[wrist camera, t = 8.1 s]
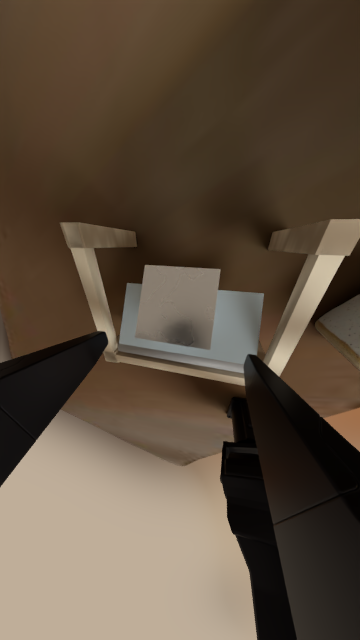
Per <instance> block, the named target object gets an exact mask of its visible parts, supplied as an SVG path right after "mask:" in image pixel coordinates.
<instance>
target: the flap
mask: <svg viewBox="0 0 360 640" xmlns="http://www.w3.org/2000/svg"><path fill="white" fill-rule="evenodd" d="M141 290H142V284H134V283H127V288H126V295H125V303H124V310H123V317H122V325H121V332H120V339H119V344H118V350H119V351H121V352H126V353H132V354H138V355H143V356H149V357H154V358H160V359H166V360H171V361H177V362H182V363H188V364H194V365H199V366H205V367H210V368H216V369H222V370H227V371H233V372H238V373H244V369H243V367H244V362H245V359H246V356H247V354H254V355H257V350H258V341H259V332H260V324H261V315H262V306H263V297H264V294H263V293H250V292H237V291H224V290H218V293H217V301H216V309H215V317H214V325H213V333H212V340H211V348H210V350H206V349H200V348H194V347H188V346H182V345H175V344H169V343H163V342H157V341H151V340H145V339H139V338H135V333H136V326H137V318H138V311H139V304H140V297H141Z"/></svg>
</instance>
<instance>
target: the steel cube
mask: <svg viewBox="0 0 360 640" xmlns="http://www.w3.org/2000/svg"><path fill="white" fill-rule="evenodd" d="M220 270H221V269H208V268H191V267H173V266H156V265H145V269H144V276H143V283H142V290H141V297H140V304H139V311H138V318H137V326H136V333H135V338H139V339H145V340H151V341H157V342H163V343H169V344H175V345H182V346H188V347H194V348H200V349H206V350H210V348H211V340H212V333H213V325H214V317H215V309H216V301H217V293H218V285H219V278H220Z"/></svg>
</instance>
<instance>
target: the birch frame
mask: <svg viewBox="0 0 360 640" xmlns="http://www.w3.org/2000/svg"><path fill="white" fill-rule="evenodd" d="M60 224H61V227H62V230H63V233H64V236H65V239H66V242H67V245H68V248H71V251H72V254H73V257H74V260H75V263H76V266H77V269H78V273H79V276H80V279H81V282H82V285H83V288H84V291H85V294H86V297H87V300H88V303H89V306H90V309H91V312H92V315H93V318H94V321H95V324H96V328H97V331H104V332H106V335H107V338H108V345H107V347H106V348H105V350H104V352H103V353H104V356H105V359H106V361H110V362H115V363H118V362H124V363H129V364H134V365H139V366H145V367H150V368H155V369H160V370H165V371H170V372H176V373H181V374H186V375H191V376H196V377H201V378H206V379H212V380H217V381H222V382H227V383H232V384H237V385H243V386H245V380H244V373H238V372H233V371H227V370H222V369H216V368H210V367H205V366H199V365H194V364H188V363H182V362H177V361H171V360H166V359H160V358H154V357H149V356H143V355H138V354H132V353H126V352H121V351H119V350H118V344H119V339H120V335H118V336H117V337H116V334H115V330H114V326H113V322H112V318H111V314H110V310H109V307H108V303H107V299H106V295H105V291H104V287H103V283H102V279H101V275H100V271H99V267H98V263H97V260H96V256H95V252H94V248H114V247H137V242H136V234H135V232H134V231H128V230H122V229H115V228H109V227H103V226H97V225H91V224H85V223H79V222H71V223H60ZM359 238H360V219H334V220H326V221H322V222H317V223H313V224H308V225H303V226H299V227H294V228H290V229H285V230H280V231H276V232H273V233H272V236H271V240H270V243H269V247H268V250H272V251H282V252H292V253H302V254H308V257H307V259H306V261H305V264H304V266H303V268H302V271H301V273H300V275H299V278H298V280H297V282H296V285H295V287H294V289H293V292H292V294H291V297H290V299H289V301H288V304H287V306H286V308H285V311H284V313H283V315H282V318H281V320H280V322H279V325H278V327H277V329H276V332H275V334H274V337H273V339H272V341H271V344H270V346H269V348H268V351H267V353H266V354H265V352H264V350H263V348H262V346H261V344H260V341H258V350H257V356H258V357H259V358H260V359H261V360H262V361H263V362H264V363H265V364H266V365H267V366H268V367H269V368H270V369H271V370H272V371H274V372H275V373H276V374H277V375H278V376H280V374H281V372H282V371H283V369H284V367H285V365H286V363H287V361H288V360H289V358H290V356H291V354H292V352H293V350H294V349H295V347H296V345H297V343H298V341H299V339H300V337H301V336H302V334H303V332H304V330H305V328H306V326H307V325H308V323H309V321H310V319H311V317H312V315H313V314H314V312H315V310H316V308H317V306H318V304H319V303H320V301H321V299H322V297H323V295H324V293H325V292H326V290H327V288H328V286H329V284H330V282H331V280H332V279H333V277H334V275H335V273H336V271H337V269H338V268H339V266H340V264H341V262H342V260H343V258H344V257H345V256H350V254H351V252H352V250H353V249H354V247H355V245H356V243H357V241H358V240H359Z"/></svg>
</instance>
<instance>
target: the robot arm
mask: <svg viewBox="0 0 360 640" xmlns="http://www.w3.org/2000/svg"><path fill="white" fill-rule="evenodd" d="M107 345H108V338H107V335H106V332H104V331H97V332H94V333H91V334H87V335H84V336H81V337H78V338H75V339H72V340H69V341H66V342H63V343H60V344H57V345H54V346H51V347H48V348H45V349H42V350H39V351H36V352H33V353H30V354H27V355H24V356H21V357H18V358H15V359H12V360H8V361H5V362H2V363H0V487H1V485H2V484H3V483H4V481H5V480H6V479H7V478H8V476H9V475H10V474H11V472H12V471H13V470H14V469H15V467H16V466H17V465H18V463H19V462H20V461H21V459H22V458H23V457H24V456H25V454H26V453H27V452H28V451H29V449H30V448H31V446H32V445H33V444H34V443H35V442H36V440H37V439H38V437H39V436H40V435H41V434H42V432H43V431H44V430H45V428H46V427H47V426H48V425H49V423H50V422H51V420H52V419H53V418H54V417H55V416H56V414H57V413H58V412H59V410H60V409H61V408H62V407H63V405H64V404H65V403H66V401H67V400H68V399H69V398H70V396H71V395H72V394H73V392H74V391H75V390H76V389H77V387H78V386H79V385H80V383H81V382H82V381H83V380H84V378H85V377H86V376H87V374H88V373H89V372H90V371H91V369H92V368H93V367H94V365H95V364H96V362H97V361H98V359H99V358H100V356H101V355H102V353H103V352H104V350H105V348H106V347H107ZM243 369H244V380H245V390H246V398H247V400H245V399H240V398H235V397H233V398H232V400H231V403H230V406H229V409H228V412H227V417H228V418H232V423H233V433H234V442H227V441H223V448H222V464H221V475H220V481H221V483H222V484H223V490H224V494H225V497H226V499H227V518H228V521H229V524H230V527H231V531H232V533H233V534H234V535H236V538H237V541H238V543H239V546H240V548H241V551H242V554H243V556H244V559H245V561H246V564H247V566H248V569H249V572H250V580H251V588H252V596H253V606H254V614H255V623H256V632H257V640H360V452H359V451H358V450H357V449H356V448H355V447H354V446H352V445H351V444H350V443H349V442H348V441H347V440H346V439H345V438H343V436H342V435H340V434H339V433H338V432H337V431H336V430H335V429H334V428H333V427H332V426H331V425H330V424H329V423H328V422H326V421H325V420H324V419H323V418H322V417H320V415H319V414H318V413H317V412H316V411H315V410H314V409H313V408H312V407H311V406H309V405H308V404H307V403H306V402H305V401H304V400H303V399H302V398H301V397H300V396H299V395H298V394H297V393H296V392H295V391H294V390H293V389H291V388H290V387H289V386H288V385H287V384H286V383H285V382H284V381H283V380H282V379H281V378H280V377H279V376H278V375H277V374H276V373H275V372H274V371H272V370H271V369H270V368H269V367H268V366H267V365H266V364H265V363H264V362H263V361H262V360H261V359H260V358H259V357H258V356H257V355H254V354H247V356H246V359H245V362H244V367H243Z"/></svg>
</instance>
